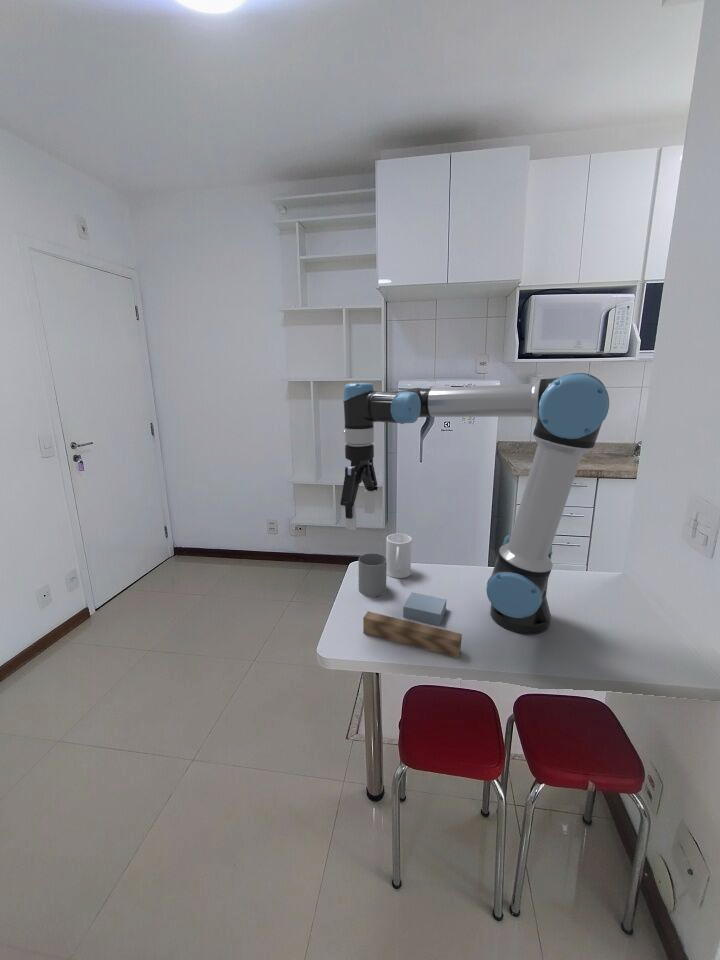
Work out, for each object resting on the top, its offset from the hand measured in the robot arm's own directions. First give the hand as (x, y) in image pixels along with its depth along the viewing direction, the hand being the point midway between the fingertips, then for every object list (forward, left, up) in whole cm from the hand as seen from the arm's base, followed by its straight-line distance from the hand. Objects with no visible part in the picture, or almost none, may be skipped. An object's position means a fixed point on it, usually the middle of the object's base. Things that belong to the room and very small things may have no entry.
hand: (360, 520), depth 116 cm
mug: (-5, -19, -25) cm, 32 cm away
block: (-19, -1, -25) cm, 31 cm away
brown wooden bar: (-19, +12, -25) cm, 33 cm away
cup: (-1, -7, -25) cm, 26 cm away
